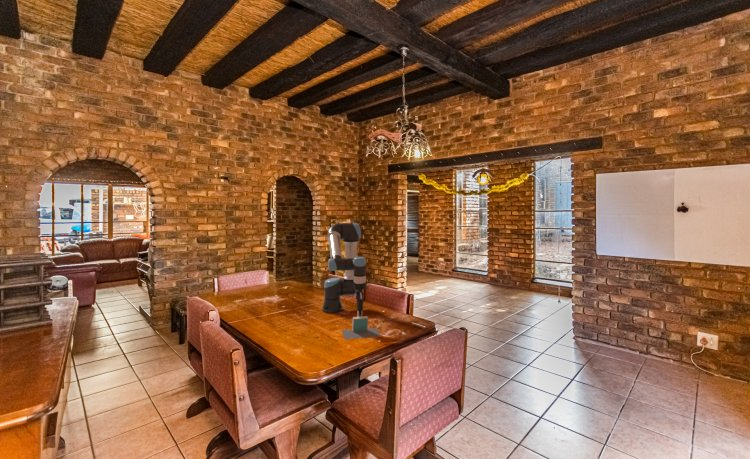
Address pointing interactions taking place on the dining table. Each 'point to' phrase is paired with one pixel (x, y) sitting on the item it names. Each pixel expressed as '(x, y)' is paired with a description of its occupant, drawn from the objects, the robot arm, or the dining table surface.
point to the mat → (360, 333)
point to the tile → (360, 323)
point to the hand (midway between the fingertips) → (359, 320)
